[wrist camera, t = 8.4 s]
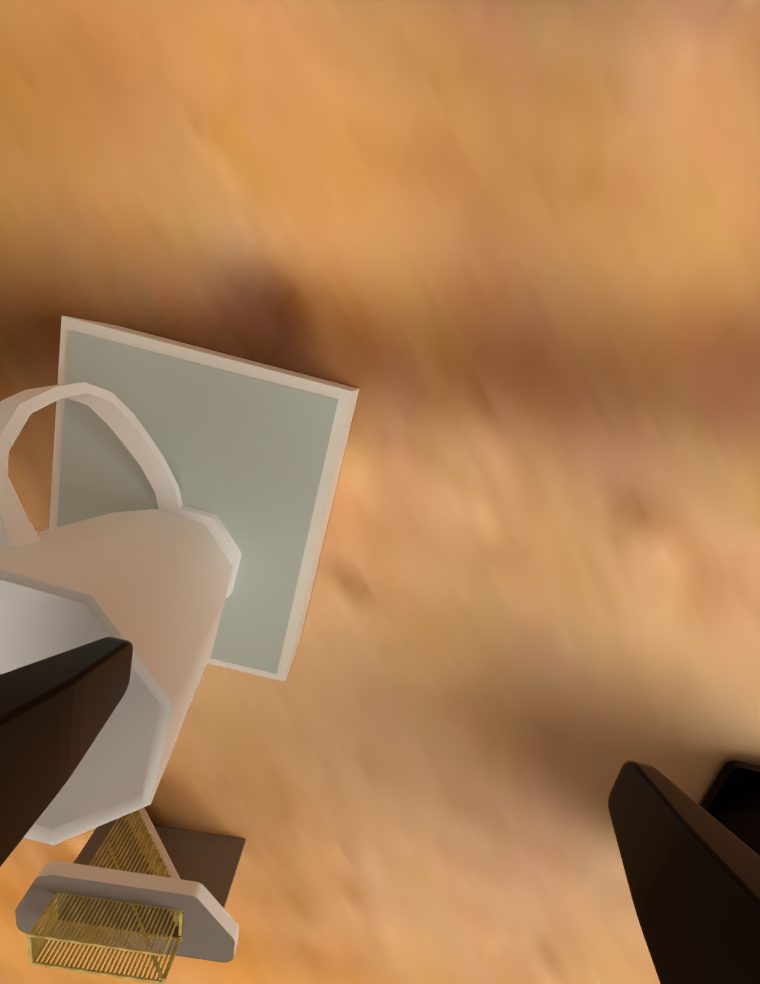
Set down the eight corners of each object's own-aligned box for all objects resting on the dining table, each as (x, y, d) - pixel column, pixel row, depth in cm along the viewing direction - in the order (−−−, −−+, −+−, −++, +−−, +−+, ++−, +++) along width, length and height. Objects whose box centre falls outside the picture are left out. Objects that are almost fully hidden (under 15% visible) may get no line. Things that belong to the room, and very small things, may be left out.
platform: (10, 695, 23) (-135, 817, 17) (353, 747, 23) (337, 887, 17) (23, 866, 26) (-96, 1023, 20) (326, 911, 26) (304, 1082, 20)
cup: (117, 645, 18) (-98, 854, 10) (47, 390, 15) (-311, 408, 8) (289, 633, 17) (205, 842, 10) (247, 371, 15) (85, 367, 7)
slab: (300, 639, 21) (284, 684, 18) (92, 589, 21) (40, 626, 18) (359, 388, 18) (352, 391, 15) (116, 325, 18) (58, 314, 15)
